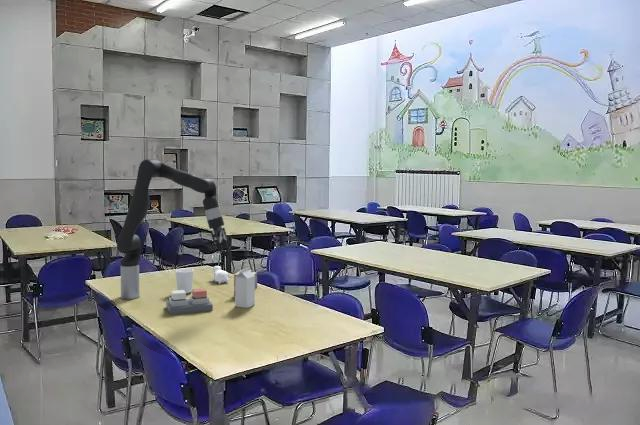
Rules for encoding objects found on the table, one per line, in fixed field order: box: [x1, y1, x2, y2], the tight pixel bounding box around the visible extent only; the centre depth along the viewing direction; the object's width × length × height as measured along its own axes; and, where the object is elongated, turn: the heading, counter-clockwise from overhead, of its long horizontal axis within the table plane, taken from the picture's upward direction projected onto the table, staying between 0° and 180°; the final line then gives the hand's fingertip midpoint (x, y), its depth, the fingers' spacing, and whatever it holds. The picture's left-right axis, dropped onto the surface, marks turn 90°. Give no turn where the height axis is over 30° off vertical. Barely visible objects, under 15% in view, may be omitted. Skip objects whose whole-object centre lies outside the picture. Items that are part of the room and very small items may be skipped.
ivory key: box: [170, 289, 187, 300], centre depth 254 cm, size 6×6×3 cm
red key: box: [191, 287, 208, 298], centre depth 258 cm, size 6×6×3 cm
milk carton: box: [234, 267, 256, 309], centre depth 262 cm, size 7×7×19 cm
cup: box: [174, 267, 195, 295], centre depth 286 cm, size 10×10×13 cm
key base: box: [165, 295, 214, 316], centre depth 256 cm, size 20×14×6 cm
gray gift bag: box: [233, 269, 258, 297], centre depth 291 cm, size 21×6×12 cm, turn 169°
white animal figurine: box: [210, 265, 230, 285], centre depth 315 cm, size 9×8×15 cm
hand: (223, 249), depth 258 cm, fingers open, 8 cm apart
